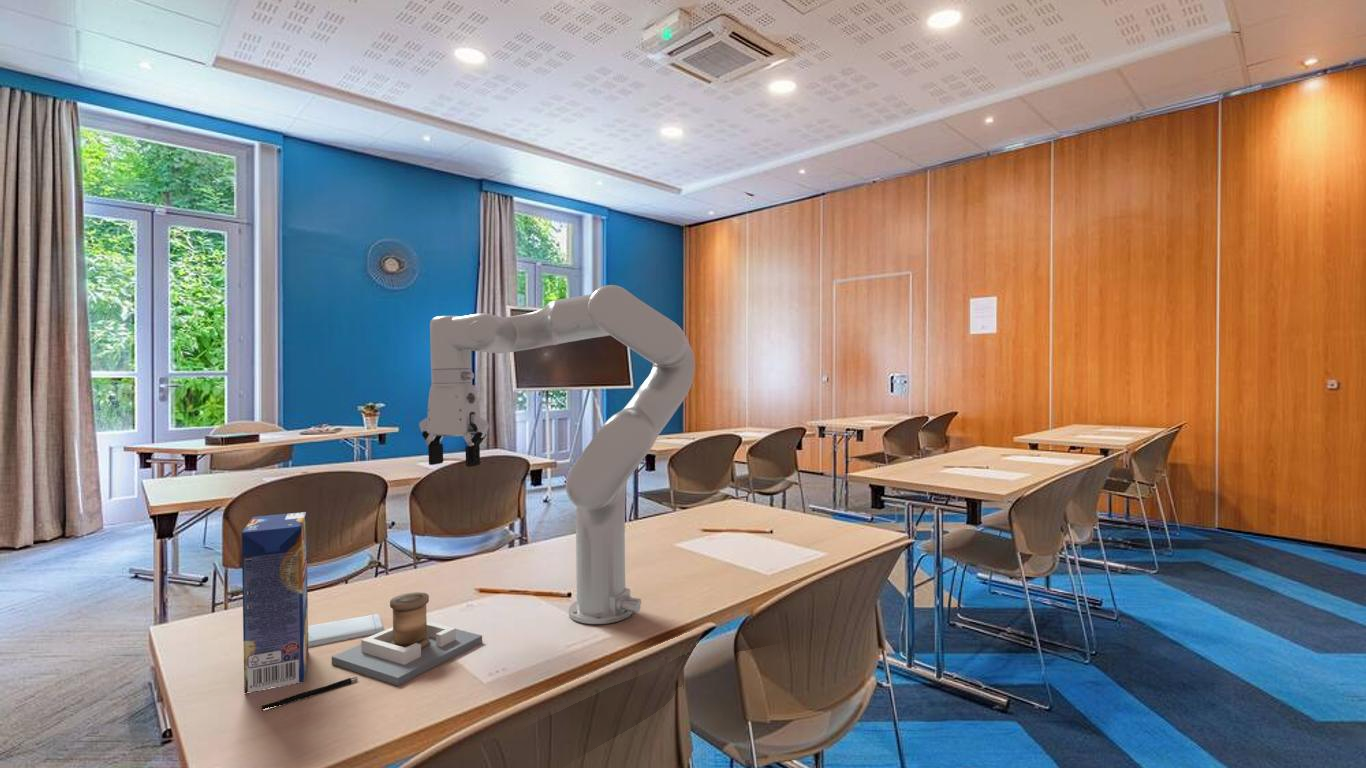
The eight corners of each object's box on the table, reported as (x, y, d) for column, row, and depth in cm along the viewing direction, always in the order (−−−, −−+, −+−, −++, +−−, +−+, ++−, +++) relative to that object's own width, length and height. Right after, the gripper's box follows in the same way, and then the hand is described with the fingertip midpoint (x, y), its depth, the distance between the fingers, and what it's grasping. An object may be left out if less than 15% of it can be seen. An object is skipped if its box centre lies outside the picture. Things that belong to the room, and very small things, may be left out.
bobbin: (437, 642, 105) (436, 595, 105) (407, 656, 100) (406, 607, 100) (413, 635, 108) (412, 590, 108) (382, 649, 103) (381, 601, 103)
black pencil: (356, 681, 95) (356, 674, 95) (358, 683, 94) (357, 677, 94) (261, 710, 87) (261, 703, 87) (262, 713, 86) (262, 706, 86)
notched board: (482, 642, 108) (482, 624, 108) (397, 685, 93) (397, 664, 93) (419, 626, 115) (419, 609, 115) (331, 663, 100) (331, 644, 100)
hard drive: (303, 641, 106) (382, 626, 113) (304, 625, 113) (379, 611, 120) (303, 651, 106) (383, 635, 113) (304, 634, 113) (379, 620, 120)
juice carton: (303, 682, 94) (301, 526, 94) (244, 694, 91) (241, 532, 90) (308, 652, 105) (306, 511, 104) (255, 662, 101) (253, 516, 101)
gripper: (499, 377, 122) (501, 463, 122) (434, 379, 129) (436, 461, 129) (471, 378, 115) (474, 469, 115) (404, 380, 122) (407, 466, 122)
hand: (454, 464), depth 122 cm, fingers open, 9 cm apart
